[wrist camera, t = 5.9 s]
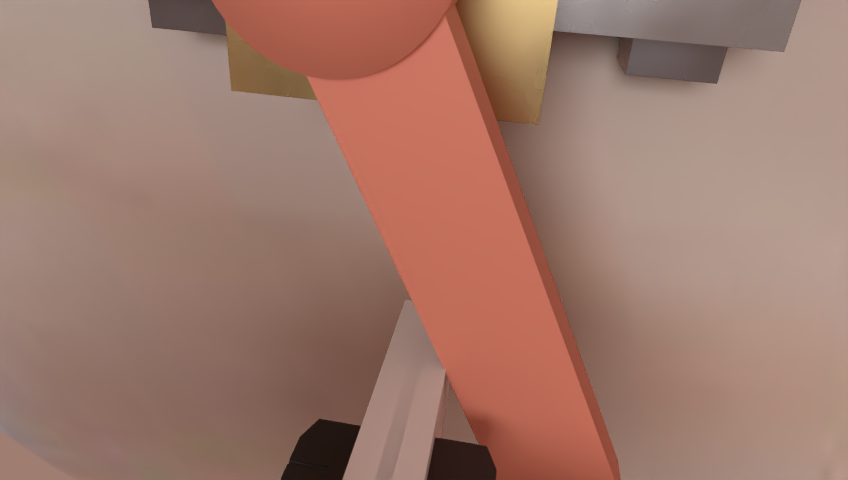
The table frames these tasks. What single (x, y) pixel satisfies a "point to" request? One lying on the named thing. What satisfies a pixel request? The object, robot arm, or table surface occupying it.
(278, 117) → the table surface
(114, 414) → the table surface
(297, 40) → the lever
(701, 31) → the valve
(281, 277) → the table surface
